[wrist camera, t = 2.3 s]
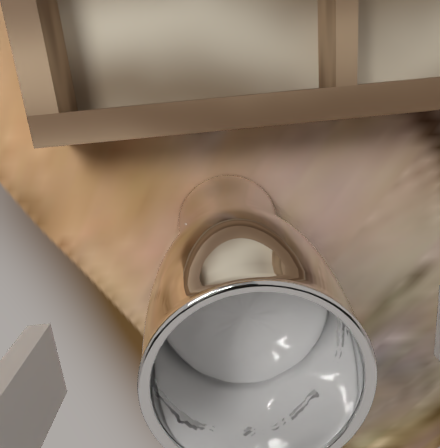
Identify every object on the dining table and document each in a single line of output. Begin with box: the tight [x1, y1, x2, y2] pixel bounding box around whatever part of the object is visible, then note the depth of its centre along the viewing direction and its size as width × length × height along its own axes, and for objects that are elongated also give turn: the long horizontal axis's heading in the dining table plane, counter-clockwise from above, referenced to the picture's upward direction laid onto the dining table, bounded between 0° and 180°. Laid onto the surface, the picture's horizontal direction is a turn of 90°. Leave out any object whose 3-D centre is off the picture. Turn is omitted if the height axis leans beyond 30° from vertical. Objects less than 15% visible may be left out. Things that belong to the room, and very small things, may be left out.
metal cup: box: [137, 175, 377, 448], centre depth 18 cm, size 7×7×15 cm
